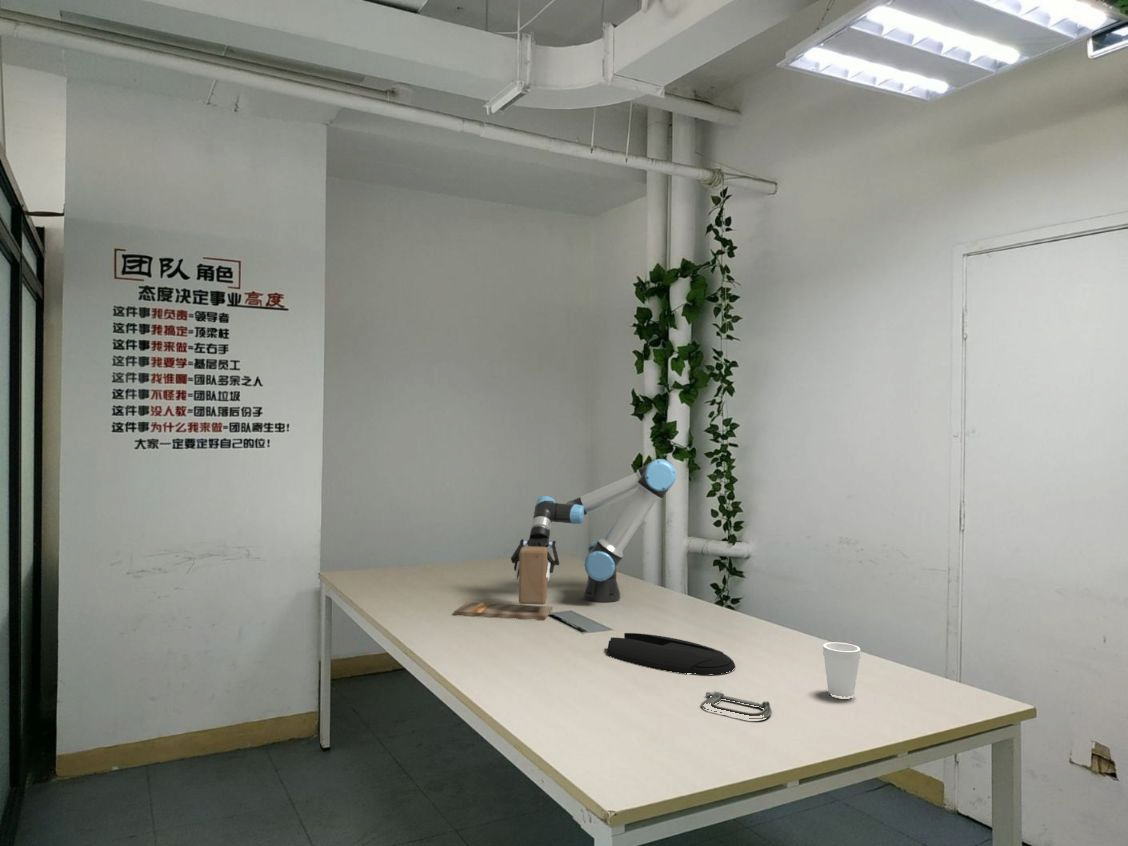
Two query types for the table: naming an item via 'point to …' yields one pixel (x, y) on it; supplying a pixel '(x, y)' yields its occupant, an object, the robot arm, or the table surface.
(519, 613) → the floor board
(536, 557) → the wooden block
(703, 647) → the black notched oval shell
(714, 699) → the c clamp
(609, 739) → the table surface
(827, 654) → the foam cup
